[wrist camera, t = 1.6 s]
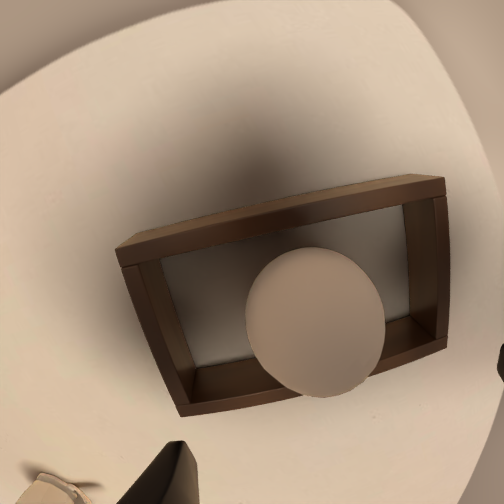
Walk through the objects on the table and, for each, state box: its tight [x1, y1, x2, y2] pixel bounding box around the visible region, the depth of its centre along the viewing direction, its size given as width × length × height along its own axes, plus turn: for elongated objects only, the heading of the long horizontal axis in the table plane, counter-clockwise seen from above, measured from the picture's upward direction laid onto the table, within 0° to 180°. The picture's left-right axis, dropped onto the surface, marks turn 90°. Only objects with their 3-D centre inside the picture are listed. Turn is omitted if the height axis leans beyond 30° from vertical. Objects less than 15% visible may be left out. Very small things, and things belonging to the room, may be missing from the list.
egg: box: [245, 247, 385, 398], centre depth 12 cm, size 5×5×7 cm
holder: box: [115, 174, 450, 417], centre depth 14 cm, size 14×9×3 cm, turn 102°
